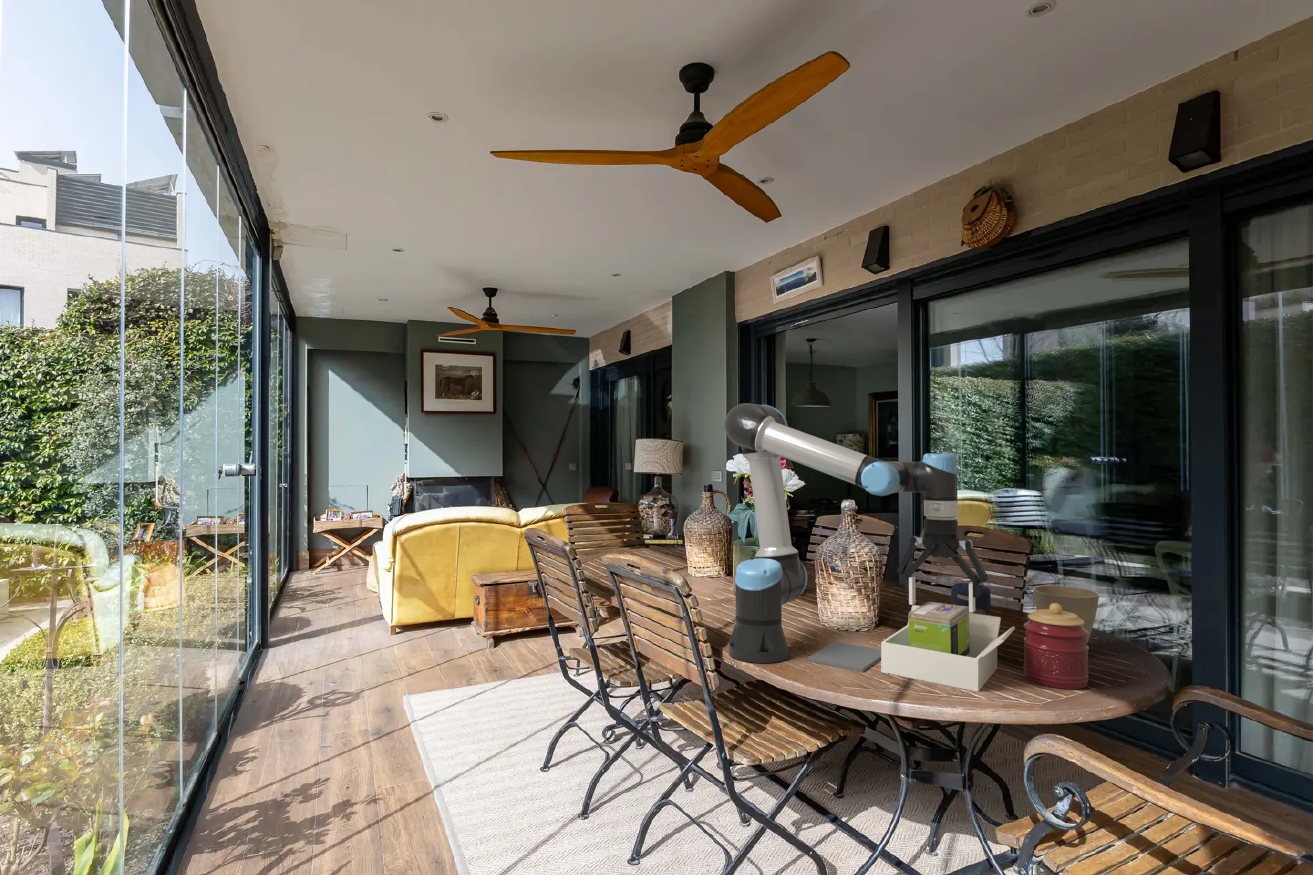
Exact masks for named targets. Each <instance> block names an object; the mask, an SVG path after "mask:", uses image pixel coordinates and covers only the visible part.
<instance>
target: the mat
mask: <svg viewBox="0 0 1313 875" xmlns="http://www.w3.org/2000/svg"><path fill="white" fill-rule="evenodd" d="M880 660H881V649H877V648H874V647H868V646H863V645H862V646H861V645H858V644H857V645H856V644H852V643H846V642H841V641H834V642H832V643H831V644H829V645H827V646H825V647H823V648H821V649H820V650H818V651H816V652H815V653H813V654H810V655H809V656H807V657H806V662H807V661H808V662H812V663H815V662H817V663H816V664H820V663H822V664H821V665H825V664H826V666H831V667H834V668H840V669H845V670H849V671H855V672H859V671H860V672H859V673H864V672H865V671H867V670H868V669H869V668H871V667H873V665H875V664H877V663H878V662H879V661H880ZM867 668H868V669H867Z"/></svg>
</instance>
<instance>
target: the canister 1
mask: <svg viewBox="0 0 1313 875" xmlns="http://www.w3.org/2000/svg"><path fill="white" fill-rule="evenodd" d="M971 582H972V581H971V580H970V581H969V582H959V583H957V582H956V583H954V584H952V585H951V589H950V604H951V605H959V606H967V607H969V583H971ZM991 595H992V594H991V590H990V587H988V586H986V585H985V584H980V596H979V597H978V598H975V611H974V612H973V614H980V615H987V616H992V613H991V611H992V610H991V598H992V596H991ZM969 613H972V612H969Z"/></svg>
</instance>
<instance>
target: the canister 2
mask: <svg viewBox="0 0 1313 875" xmlns="http://www.w3.org/2000/svg"><path fill="white" fill-rule="evenodd" d="M1027 618H1028V619H1029V620H1028V621H1026V622H1024V624H1023V628H1024V629H1025V630H1026V631H1025V637H1024V638H1023V642H1024V644H1023V645H1024V649H1023V650H1024V656H1023V657H1024V659H1023V660H1024V663H1023V669H1022V670H1023V672H1024V677H1025V678H1026V679H1028V680H1029V681H1030V682H1032V683H1035V684H1038V685H1042V686H1045V687H1050V688H1056V689H1061V690H1063V689H1064V690H1080V689H1084V688H1086V687H1087V686H1088V682H1089V675H1090V674H1089V649H1090V648H1089V645H1088V643H1087V644H1086V637H1087V636H1088V635H1089V632H1088V631H1087V630H1086V629H1084V628H1083V626H1082V625H1083V624H1084V623H1085V622H1084V620H1082V619H1081V618H1079V617H1078V616H1077V615H1076V614H1074V613H1070V612H1066V611H1062V607H1061V605H1060V604H1058V603H1052V604H1051V605H1050V606H1049V609H1039V610H1037V609H1036V610H1034V611H1033V612H1031V613H1028V614H1027Z"/></svg>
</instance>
